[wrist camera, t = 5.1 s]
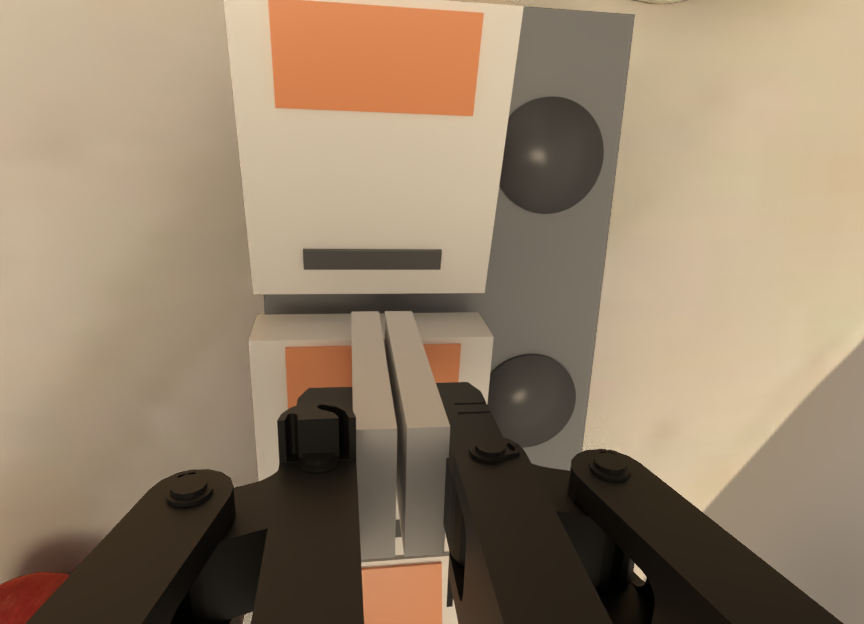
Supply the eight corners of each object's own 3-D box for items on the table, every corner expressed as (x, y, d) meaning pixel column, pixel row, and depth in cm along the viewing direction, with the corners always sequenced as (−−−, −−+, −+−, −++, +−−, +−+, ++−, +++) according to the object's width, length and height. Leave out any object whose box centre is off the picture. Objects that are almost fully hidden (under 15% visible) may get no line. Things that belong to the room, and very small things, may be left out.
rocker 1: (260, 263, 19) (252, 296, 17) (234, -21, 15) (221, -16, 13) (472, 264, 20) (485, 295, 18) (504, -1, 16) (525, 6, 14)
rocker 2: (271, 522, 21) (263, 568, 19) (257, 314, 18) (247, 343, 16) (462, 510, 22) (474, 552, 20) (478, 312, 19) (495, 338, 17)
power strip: (295, 671, 31) (285, 794, 25) (268, 18, 22) (243, -23, 16) (517, 648, 32) (554, 757, 27) (575, 38, 24) (650, 8, 18)
